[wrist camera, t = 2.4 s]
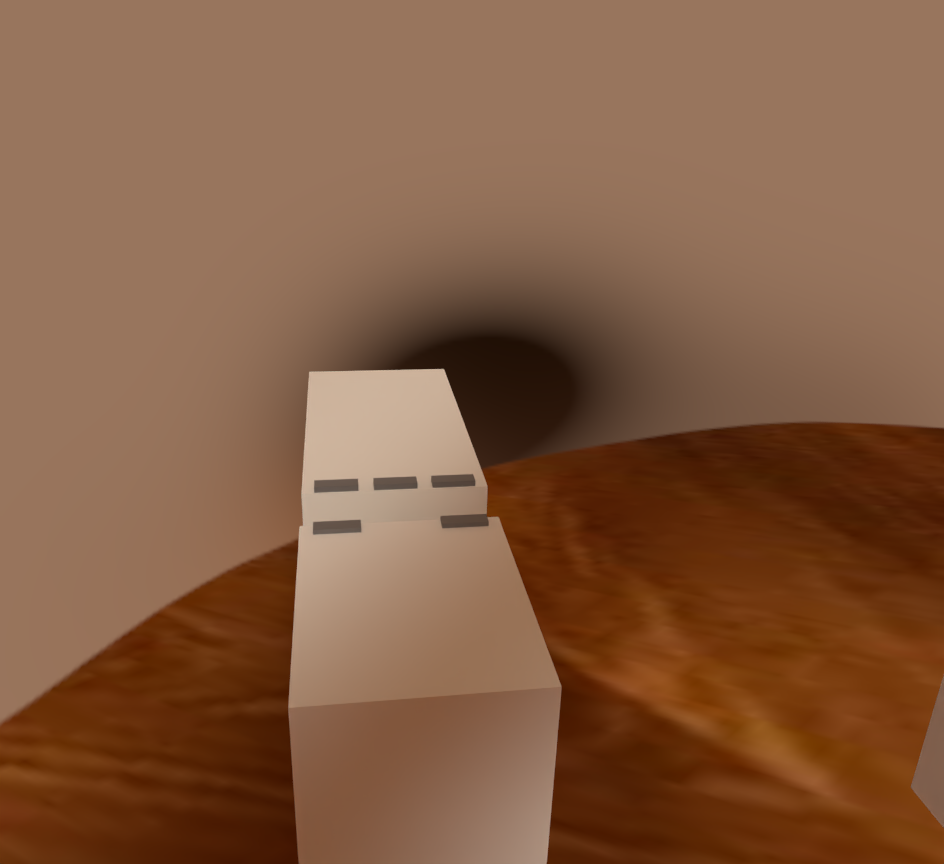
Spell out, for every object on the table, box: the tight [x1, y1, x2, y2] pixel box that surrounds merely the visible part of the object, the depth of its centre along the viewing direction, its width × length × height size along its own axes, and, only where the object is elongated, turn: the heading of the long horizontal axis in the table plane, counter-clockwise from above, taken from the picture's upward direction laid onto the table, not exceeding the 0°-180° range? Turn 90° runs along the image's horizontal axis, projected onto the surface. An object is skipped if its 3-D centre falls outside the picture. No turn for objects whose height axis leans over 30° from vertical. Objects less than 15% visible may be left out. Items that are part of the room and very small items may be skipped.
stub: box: [288, 514, 562, 864], centre depth 25 cm, size 6×8×12 cm
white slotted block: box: [302, 369, 488, 526], centre depth 36 cm, size 6×12×12 cm, turn 9°
